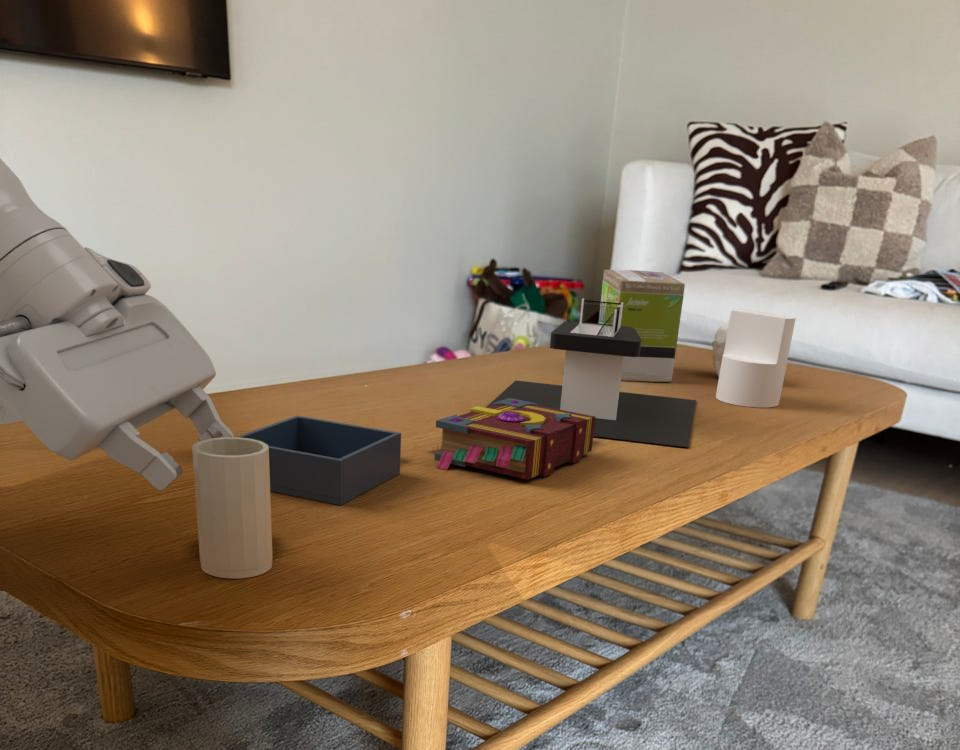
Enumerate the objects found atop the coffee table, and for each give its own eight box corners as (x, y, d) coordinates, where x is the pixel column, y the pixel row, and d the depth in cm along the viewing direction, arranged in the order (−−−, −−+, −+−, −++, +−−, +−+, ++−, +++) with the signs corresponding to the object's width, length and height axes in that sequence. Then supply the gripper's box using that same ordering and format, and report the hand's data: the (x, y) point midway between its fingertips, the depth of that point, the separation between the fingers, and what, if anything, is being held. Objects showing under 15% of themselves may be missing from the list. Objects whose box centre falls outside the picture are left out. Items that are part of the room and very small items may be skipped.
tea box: (592, 362, 159) (602, 267, 153) (651, 365, 160) (664, 271, 154) (608, 380, 146) (620, 277, 139) (673, 383, 147) (688, 281, 140)
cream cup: (199, 580, 68) (191, 456, 64) (201, 553, 73) (193, 436, 69) (274, 577, 70) (270, 456, 66) (271, 551, 74) (267, 437, 70)
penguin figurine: (729, 316, 155) (800, 334, 149) (715, 369, 159) (784, 388, 154) (714, 319, 150) (787, 338, 145) (700, 373, 154) (771, 393, 149)
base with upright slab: (790, 402, 139) (807, 316, 134) (759, 410, 133) (776, 320, 128) (735, 391, 145) (750, 307, 139) (703, 397, 139) (718, 311, 133)
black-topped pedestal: (688, 448, 111) (707, 329, 105) (469, 422, 116) (476, 307, 110) (695, 401, 136) (711, 302, 130) (515, 381, 141) (522, 285, 135)
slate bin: (340, 505, 85) (340, 460, 83) (229, 483, 89) (226, 439, 87) (400, 473, 95) (401, 432, 93) (297, 454, 99) (296, 415, 97)
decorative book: (594, 455, 106) (599, 410, 104) (523, 488, 93) (527, 437, 91) (505, 436, 111) (508, 393, 109) (427, 465, 98) (429, 416, 96)
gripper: (-13, 294, 55) (165, 476, 58) (147, 265, 73) (275, 405, 76) (-71, 367, 57) (104, 538, 61) (98, 321, 75) (225, 454, 79)
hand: (200, 463), depth 69 cm, fingers open, 8 cm apart
